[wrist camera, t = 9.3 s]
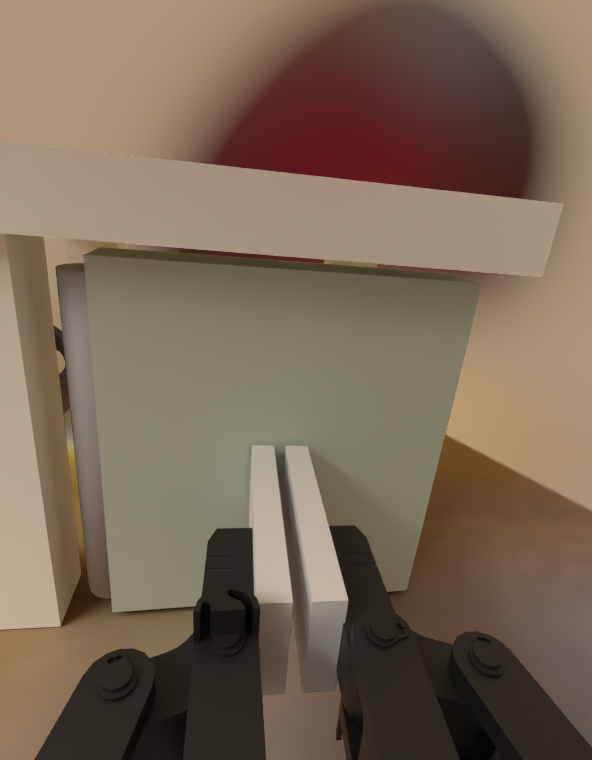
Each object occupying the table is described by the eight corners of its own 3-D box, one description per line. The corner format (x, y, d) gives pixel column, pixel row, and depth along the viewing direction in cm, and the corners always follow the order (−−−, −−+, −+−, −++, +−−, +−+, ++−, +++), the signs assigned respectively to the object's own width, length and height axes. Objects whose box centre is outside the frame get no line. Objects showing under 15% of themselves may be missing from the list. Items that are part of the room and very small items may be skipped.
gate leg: (84, 614, 17) (42, 251, 12) (96, 573, 18) (65, 244, 14) (406, 590, 19) (482, 283, 14) (390, 556, 21) (452, 273, 16)
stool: (-49, 651, 15) (-195, 119, 9) (87, 428, 30) (64, 167, 24) (440, 622, 18) (563, 203, 12) (346, 432, 33) (381, 200, 27)
